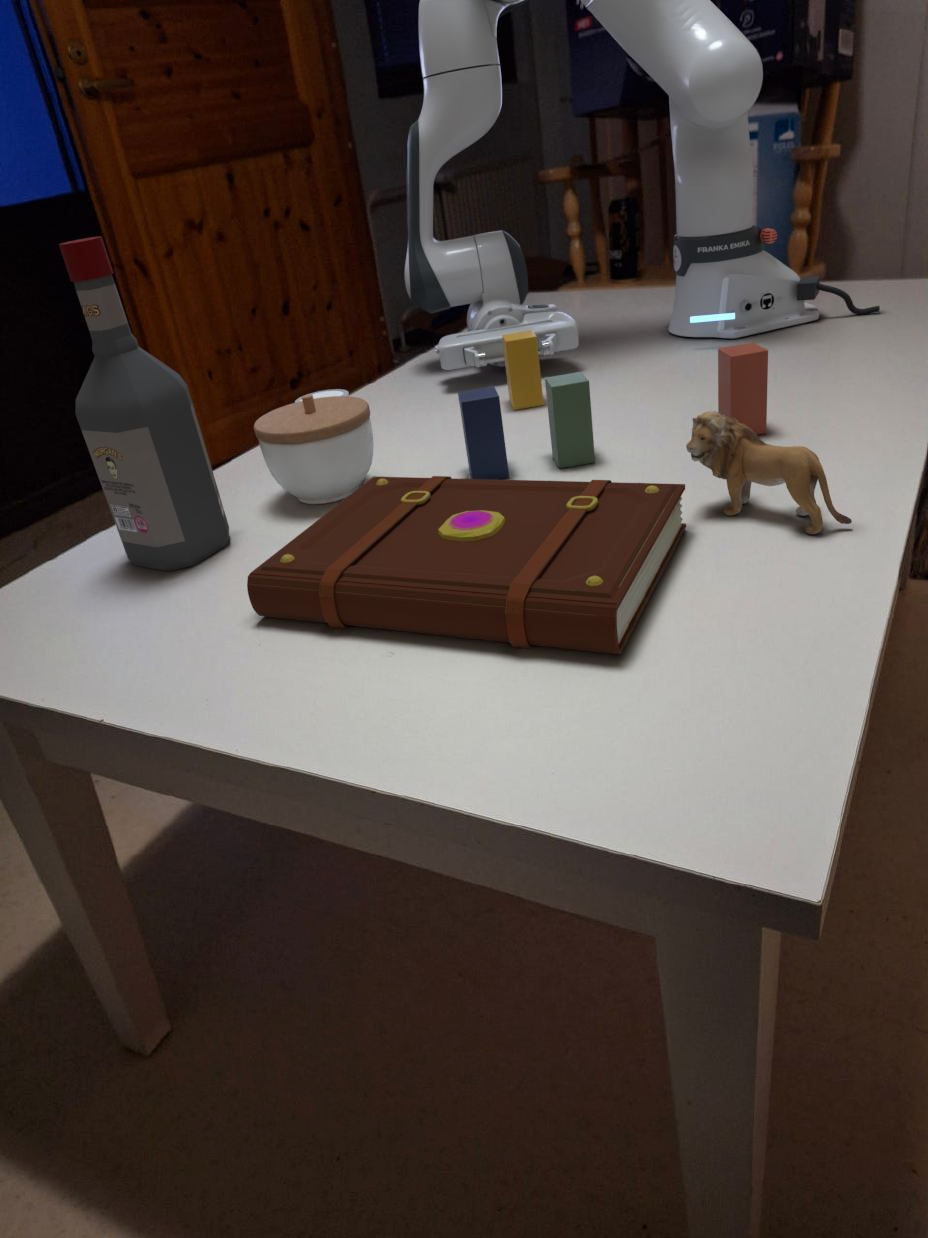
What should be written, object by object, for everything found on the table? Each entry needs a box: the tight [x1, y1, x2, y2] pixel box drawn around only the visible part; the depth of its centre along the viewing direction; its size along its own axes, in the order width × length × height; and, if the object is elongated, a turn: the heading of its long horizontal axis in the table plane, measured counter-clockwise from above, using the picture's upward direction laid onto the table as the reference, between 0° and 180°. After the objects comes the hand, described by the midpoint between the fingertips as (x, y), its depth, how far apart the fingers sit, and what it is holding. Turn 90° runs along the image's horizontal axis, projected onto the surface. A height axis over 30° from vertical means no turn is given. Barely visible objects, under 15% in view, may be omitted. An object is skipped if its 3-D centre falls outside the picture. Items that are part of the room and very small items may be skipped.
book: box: [246, 475, 687, 655], centre depth 77 cm, size 23×32×5 cm
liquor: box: [58, 236, 230, 572], centre depth 85 cm, size 9×9×30 cm
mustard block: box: [502, 330, 545, 411], centre depth 118 cm, size 4×4×9 cm
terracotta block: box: [717, 342, 769, 436], centre depth 97 cm, size 4×4×9 cm
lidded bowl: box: [253, 394, 375, 505], centre depth 99 cm, size 13×13×11 cm
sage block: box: [544, 371, 596, 469], centre depth 97 cm, size 4×4×9 cm
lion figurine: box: [685, 410, 853, 535], centre depth 78 cm, size 15×5×9 cm, turn 50°
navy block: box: [457, 386, 510, 480], centre depth 97 cm, size 4×4×9 cm
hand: (514, 354), depth 124 cm, fingers open, 8 cm apart
